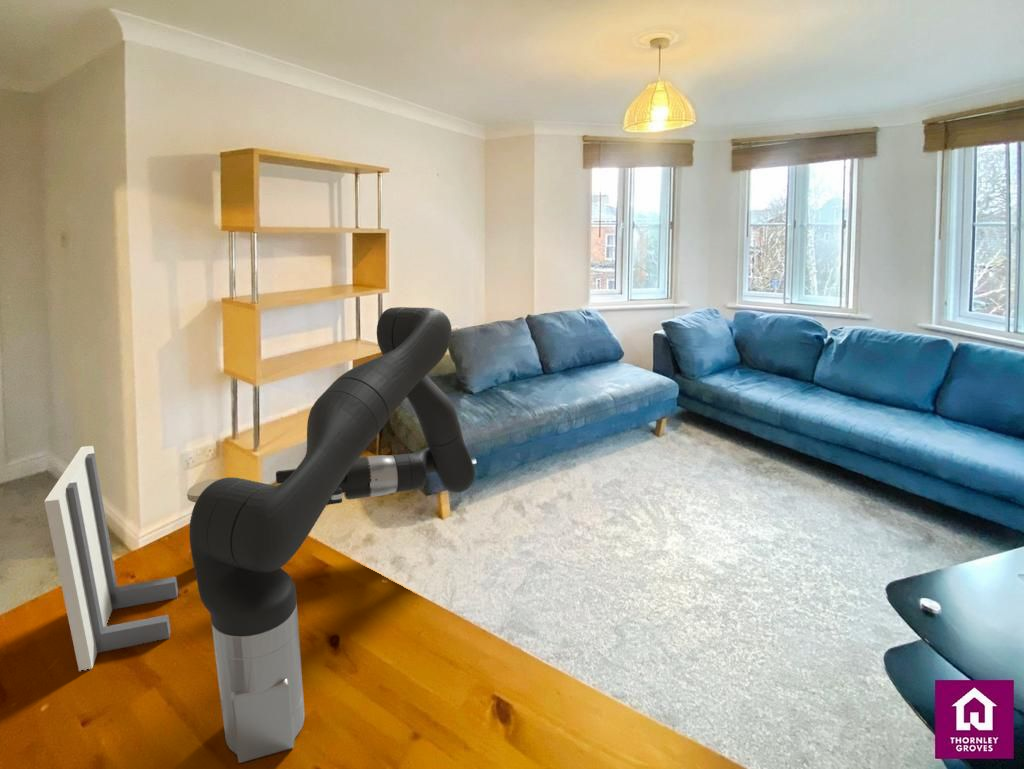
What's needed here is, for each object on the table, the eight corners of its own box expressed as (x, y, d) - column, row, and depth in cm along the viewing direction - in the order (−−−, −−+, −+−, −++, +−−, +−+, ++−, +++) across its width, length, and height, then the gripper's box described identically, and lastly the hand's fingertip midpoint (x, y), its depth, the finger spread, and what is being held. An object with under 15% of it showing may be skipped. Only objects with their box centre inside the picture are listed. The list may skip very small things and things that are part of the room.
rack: (166, 653, 85) (141, 489, 78) (79, 671, 81) (44, 501, 74) (180, 580, 101) (160, 439, 94) (107, 593, 97) (81, 446, 90)
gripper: (363, 444, 116) (274, 452, 110) (376, 473, 104) (277, 484, 98) (363, 479, 118) (276, 489, 112) (376, 511, 106) (279, 525, 100)
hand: (276, 487), depth 105 cm, fingers open, 8 cm apart
